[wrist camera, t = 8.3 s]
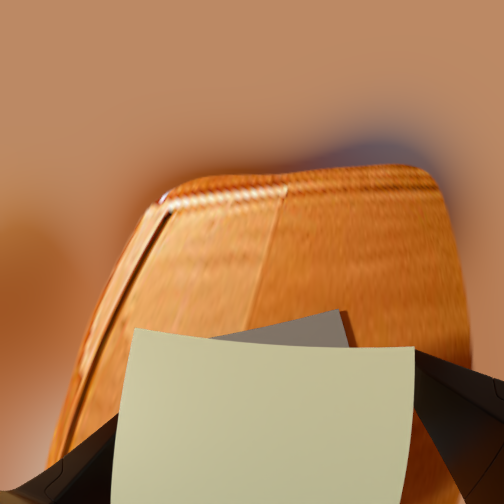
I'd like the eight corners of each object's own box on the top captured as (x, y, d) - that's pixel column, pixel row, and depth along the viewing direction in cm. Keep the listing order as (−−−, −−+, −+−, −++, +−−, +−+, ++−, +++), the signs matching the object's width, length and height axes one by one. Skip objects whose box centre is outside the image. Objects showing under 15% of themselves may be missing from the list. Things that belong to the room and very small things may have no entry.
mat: (382, 510, 11) (384, 513, 10) (236, 538, 11) (234, 542, 10) (337, 311, 18) (338, 308, 17) (198, 342, 18) (195, 340, 18)
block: (321, 461, 13) (371, 588, 2) (241, 455, 14) (110, 546, 2) (329, 388, 15) (413, 346, 4) (251, 383, 16) (135, 327, 5)
